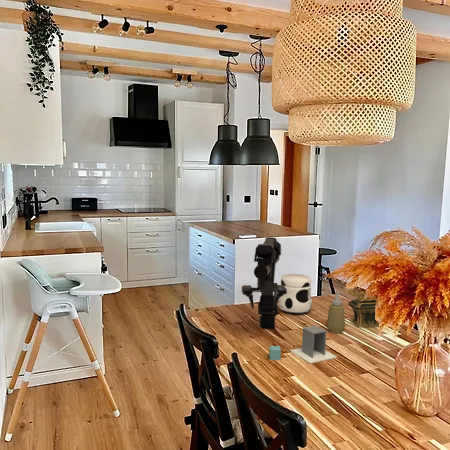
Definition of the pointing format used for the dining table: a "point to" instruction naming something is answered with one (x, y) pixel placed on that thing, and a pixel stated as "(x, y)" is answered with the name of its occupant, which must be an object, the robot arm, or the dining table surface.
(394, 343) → the dining table surface
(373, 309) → the decorative box
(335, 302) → the squeeze bottle
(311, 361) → the cream square tile
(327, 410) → the dining table surface
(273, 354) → the teal cube
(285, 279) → the cream spotted cookie jar
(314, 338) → the charcoal hood
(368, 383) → the dining table surface
